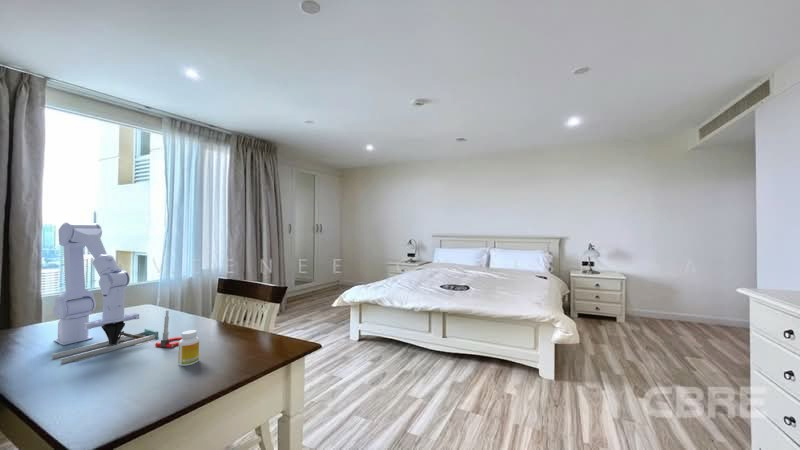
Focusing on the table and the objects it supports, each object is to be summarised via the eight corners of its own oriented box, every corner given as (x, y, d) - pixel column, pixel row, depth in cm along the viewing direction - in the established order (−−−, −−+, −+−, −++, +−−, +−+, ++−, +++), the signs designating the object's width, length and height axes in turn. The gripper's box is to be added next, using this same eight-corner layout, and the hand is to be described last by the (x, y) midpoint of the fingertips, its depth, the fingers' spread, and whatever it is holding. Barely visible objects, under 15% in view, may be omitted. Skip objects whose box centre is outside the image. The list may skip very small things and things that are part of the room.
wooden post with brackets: (112, 342, 111) (119, 329, 112) (138, 346, 115) (144, 334, 116) (111, 343, 110) (118, 330, 111) (137, 348, 114) (144, 336, 115)
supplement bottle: (202, 360, 99) (203, 330, 99) (186, 367, 94) (187, 335, 94) (190, 358, 101) (191, 328, 101) (174, 364, 96) (174, 333, 96)
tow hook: (175, 339, 119) (152, 347, 109) (177, 305, 119) (155, 310, 110) (194, 340, 117) (173, 348, 108) (196, 306, 118) (175, 311, 109)
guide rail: (51, 358, 99) (51, 350, 99) (147, 334, 122) (147, 328, 122) (63, 365, 94) (64, 357, 94) (160, 338, 118) (160, 332, 118)
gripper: (91, 312, 101) (90, 353, 101) (143, 302, 114) (142, 339, 114) (82, 309, 104) (81, 349, 104) (134, 300, 117) (133, 336, 117)
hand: (112, 344), depth 109 cm, fingers closed
